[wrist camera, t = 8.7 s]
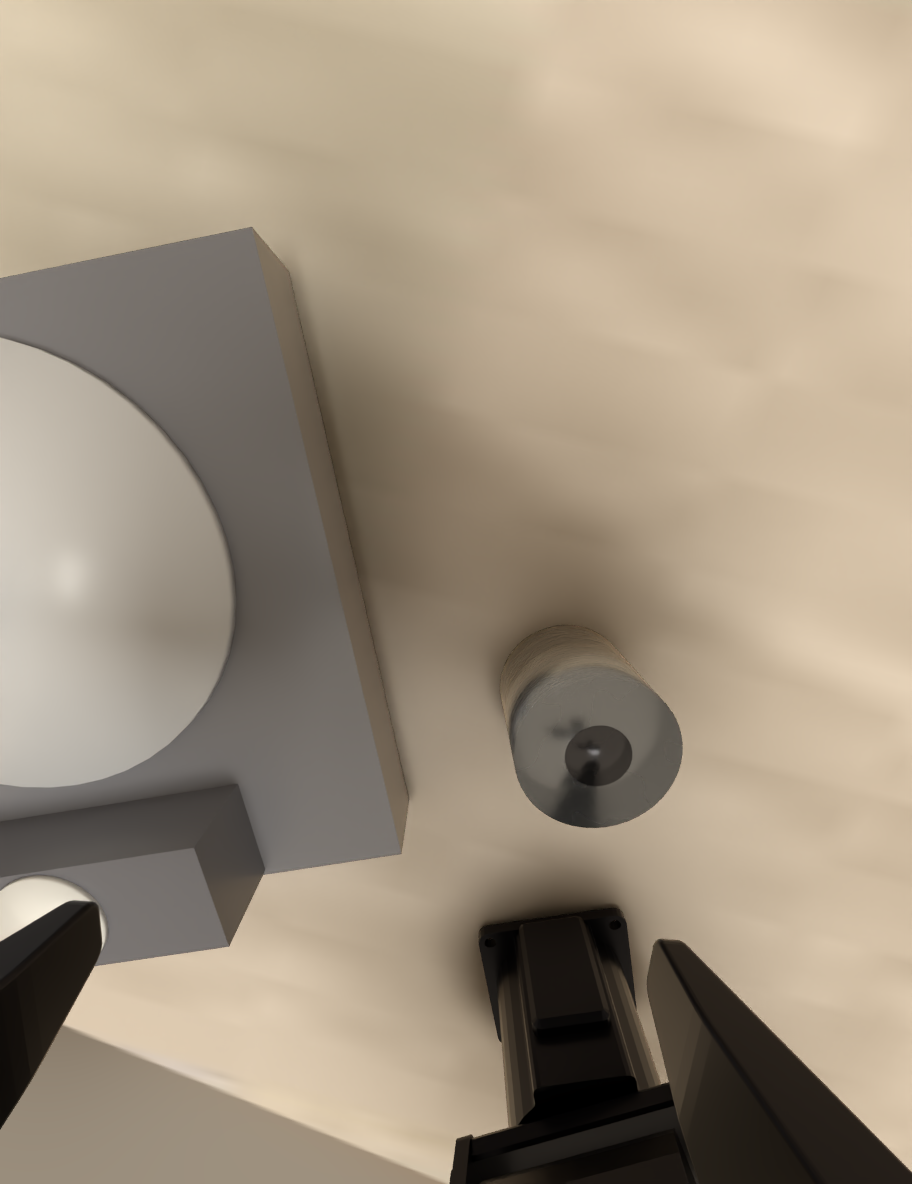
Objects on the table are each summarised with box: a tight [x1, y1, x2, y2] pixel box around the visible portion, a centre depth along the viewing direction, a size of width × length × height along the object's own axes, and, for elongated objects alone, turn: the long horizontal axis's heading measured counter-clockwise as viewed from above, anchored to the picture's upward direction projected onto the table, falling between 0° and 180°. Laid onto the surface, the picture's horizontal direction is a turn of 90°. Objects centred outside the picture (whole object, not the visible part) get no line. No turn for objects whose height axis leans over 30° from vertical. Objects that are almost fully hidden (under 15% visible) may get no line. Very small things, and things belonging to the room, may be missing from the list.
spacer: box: [500, 625, 682, 828], centre depth 17 cm, size 5×5×5 cm
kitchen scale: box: [0, 227, 409, 966], centre depth 16 cm, size 20×20×6 cm
